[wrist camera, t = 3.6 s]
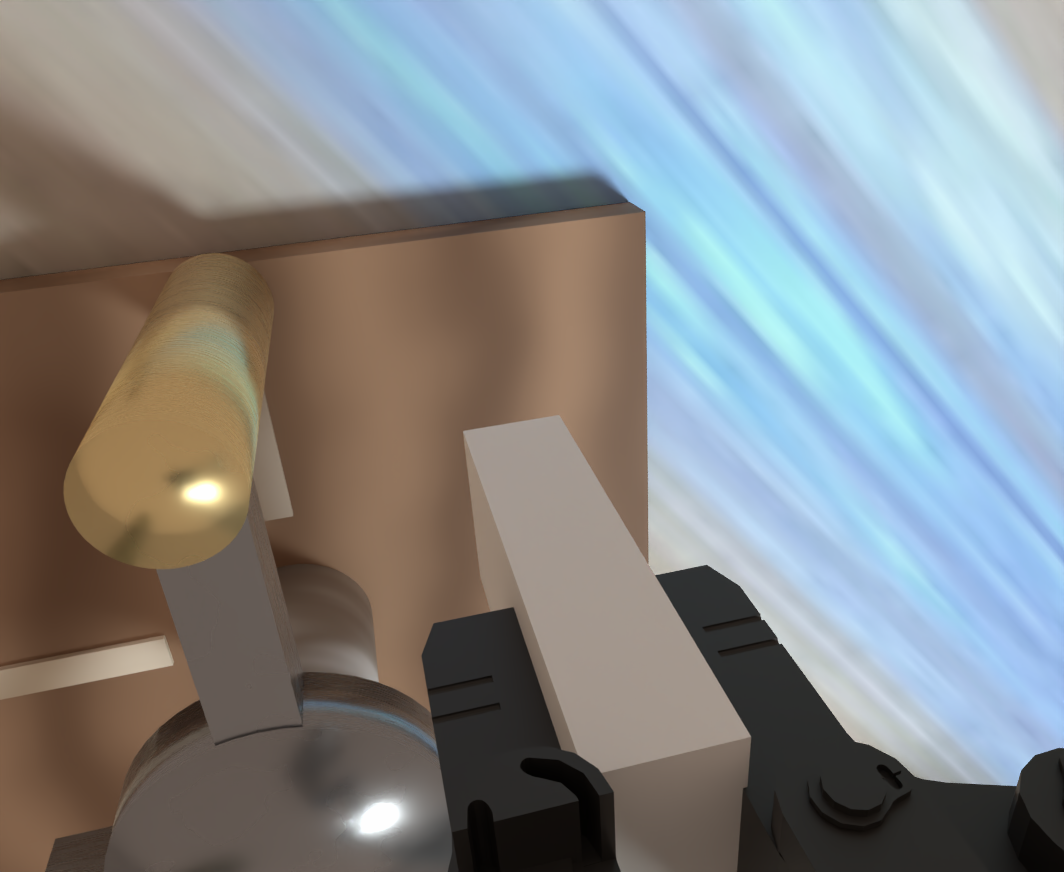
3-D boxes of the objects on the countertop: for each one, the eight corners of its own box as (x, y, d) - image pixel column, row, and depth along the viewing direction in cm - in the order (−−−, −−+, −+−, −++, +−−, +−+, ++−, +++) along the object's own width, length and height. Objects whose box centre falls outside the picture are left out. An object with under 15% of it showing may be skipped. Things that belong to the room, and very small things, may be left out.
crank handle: (369, 233, 25) (404, 379, 15) (442, 699, 33) (495, 984, 23) (-27, 282, 23) (-273, 483, 13) (156, 760, 31) (87, 1096, 22)
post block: (630, 202, 28) (753, 279, 20) (639, 765, 40) (718, 950, 32) (-269, 313, 24) (-559, 466, 16) (44, 906, 36) (-32, 1160, 28)
